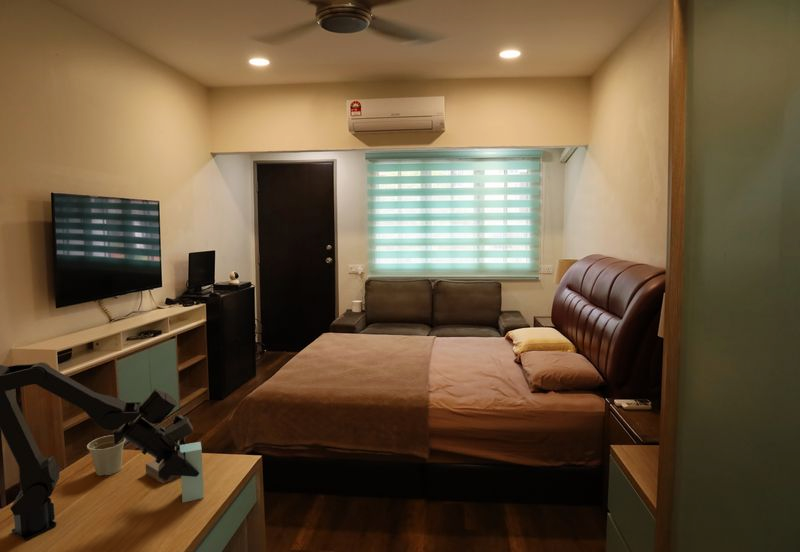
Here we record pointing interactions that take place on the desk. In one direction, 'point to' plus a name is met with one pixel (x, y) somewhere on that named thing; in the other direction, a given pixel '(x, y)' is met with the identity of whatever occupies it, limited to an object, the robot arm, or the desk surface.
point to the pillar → (191, 485)
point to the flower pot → (106, 455)
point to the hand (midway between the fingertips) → (197, 470)
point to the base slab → (156, 471)
